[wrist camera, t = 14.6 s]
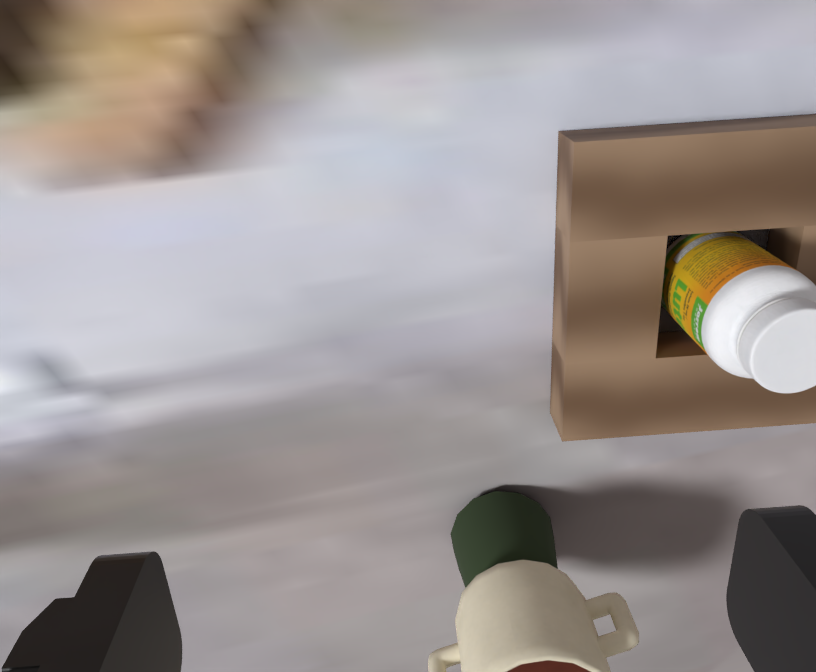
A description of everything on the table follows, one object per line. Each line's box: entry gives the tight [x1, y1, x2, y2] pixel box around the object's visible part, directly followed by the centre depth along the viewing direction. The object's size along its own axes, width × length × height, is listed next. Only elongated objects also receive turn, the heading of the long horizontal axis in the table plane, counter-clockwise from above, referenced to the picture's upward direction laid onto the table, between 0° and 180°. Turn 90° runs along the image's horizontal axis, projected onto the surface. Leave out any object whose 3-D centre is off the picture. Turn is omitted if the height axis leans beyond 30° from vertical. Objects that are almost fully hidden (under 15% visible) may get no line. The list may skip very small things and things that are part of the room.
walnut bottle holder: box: [550, 114, 816, 441], centre depth 37 cm, size 16×16×3 cm
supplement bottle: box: [661, 231, 816, 393], centre depth 34 cm, size 5×5×10 cm
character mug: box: [428, 491, 639, 672], centre depth 39 cm, size 11×7×13 cm, turn 112°
